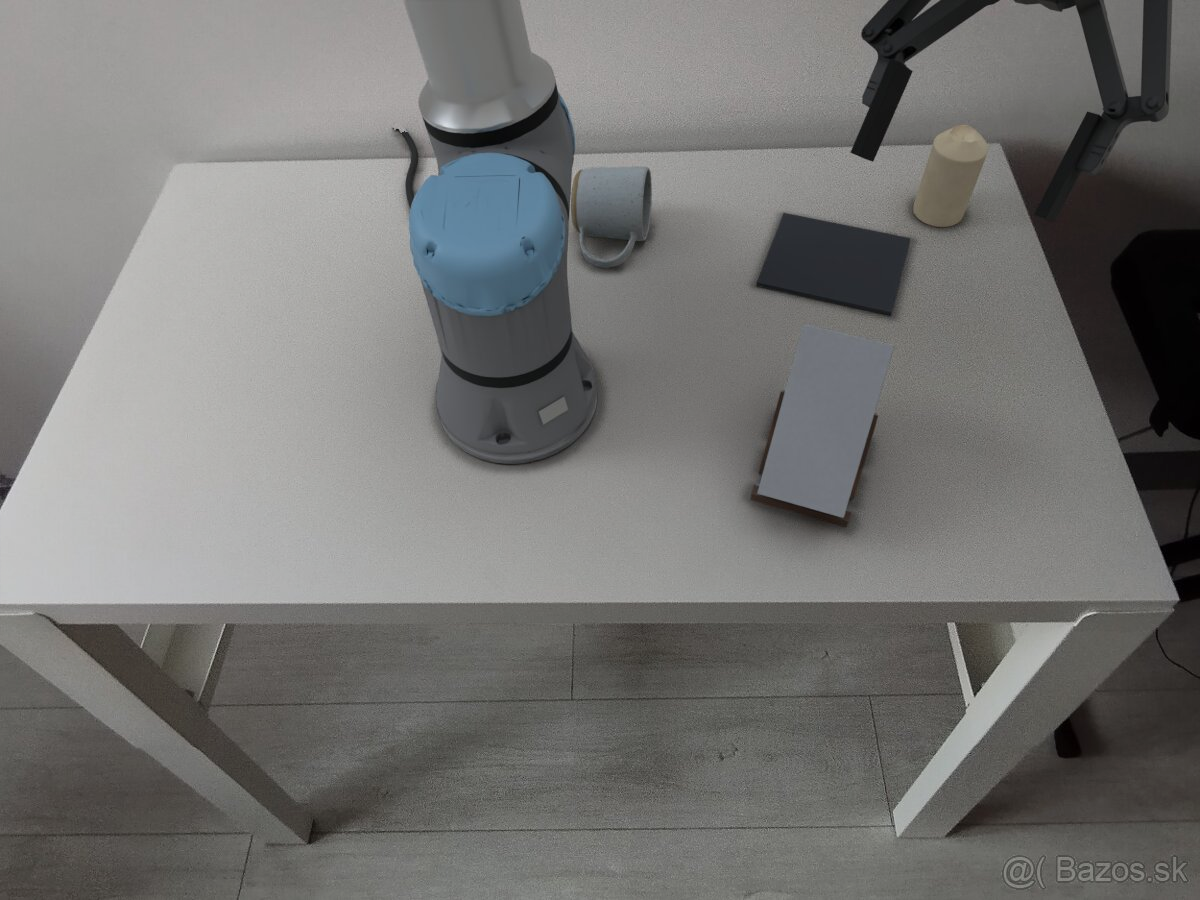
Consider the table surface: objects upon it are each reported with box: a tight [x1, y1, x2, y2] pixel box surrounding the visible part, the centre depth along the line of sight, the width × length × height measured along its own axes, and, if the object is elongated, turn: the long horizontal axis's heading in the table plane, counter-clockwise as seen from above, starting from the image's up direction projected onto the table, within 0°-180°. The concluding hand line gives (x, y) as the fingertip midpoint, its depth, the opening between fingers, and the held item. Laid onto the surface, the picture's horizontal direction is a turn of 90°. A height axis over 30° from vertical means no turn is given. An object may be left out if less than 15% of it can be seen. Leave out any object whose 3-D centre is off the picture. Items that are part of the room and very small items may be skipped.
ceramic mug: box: [570, 166, 653, 268], centre depth 91 cm, size 11×8×8 cm
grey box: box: [757, 323, 895, 518], centre depth 69 cm, size 14×7×14 cm, turn 159°
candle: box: [912, 124, 990, 228], centre depth 91 cm, size 6×6×10 cm
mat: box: [756, 212, 911, 316], centre depth 90 cm, size 14×12×1 cm
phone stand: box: [749, 389, 879, 528], centre depth 73 cm, size 10×8×7 cm
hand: (947, 187), depth 59 cm, fingers open, 13 cm apart
